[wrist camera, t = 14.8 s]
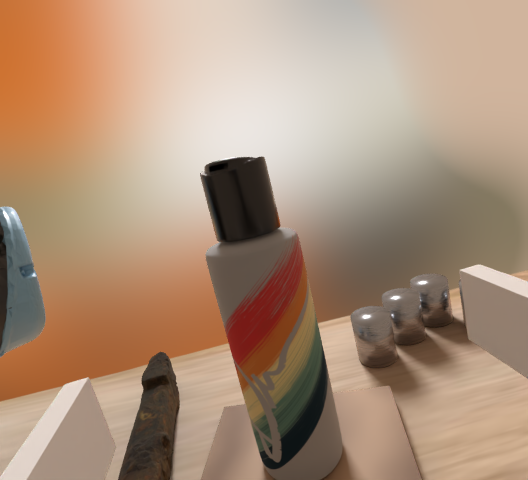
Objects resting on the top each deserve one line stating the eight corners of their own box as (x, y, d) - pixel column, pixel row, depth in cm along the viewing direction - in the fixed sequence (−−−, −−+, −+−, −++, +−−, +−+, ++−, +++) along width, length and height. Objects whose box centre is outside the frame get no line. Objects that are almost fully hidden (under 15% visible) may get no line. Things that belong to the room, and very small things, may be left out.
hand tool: (176, 551, 21) (153, 489, 20) (109, 571, 21) (83, 509, 20) (197, 375, 40) (185, 338, 39) (161, 385, 40) (149, 348, 39)
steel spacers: (366, 387, 31) (356, 341, 30) (350, 324, 42) (343, 288, 41) (602, 356, 28) (600, 303, 27) (518, 296, 39) (514, 258, 38)
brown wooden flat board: (186, 557, 21) (180, 541, 20) (227, 418, 31) (224, 407, 31) (440, 542, 18) (437, 524, 18) (391, 398, 29) (389, 385, 29)
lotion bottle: (247, 477, 23) (159, 174, 19) (281, 416, 28) (216, 163, 24) (331, 498, 21) (250, 150, 17) (352, 426, 25) (294, 144, 21)
